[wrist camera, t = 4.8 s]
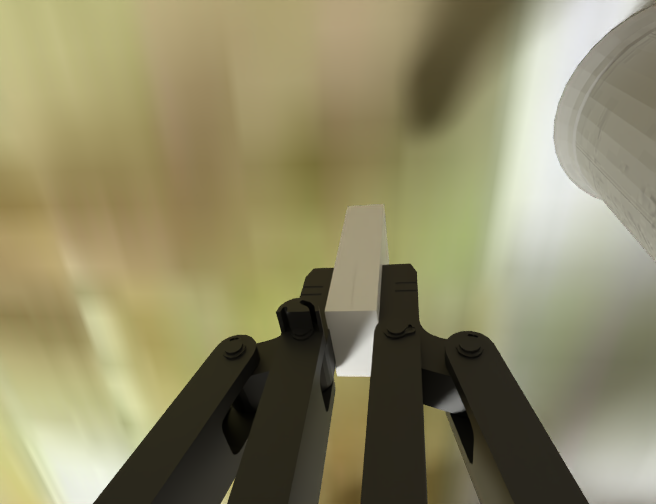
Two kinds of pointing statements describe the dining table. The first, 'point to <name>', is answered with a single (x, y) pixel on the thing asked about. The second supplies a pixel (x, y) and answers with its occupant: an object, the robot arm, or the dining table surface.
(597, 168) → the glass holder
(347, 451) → the dining table surface
